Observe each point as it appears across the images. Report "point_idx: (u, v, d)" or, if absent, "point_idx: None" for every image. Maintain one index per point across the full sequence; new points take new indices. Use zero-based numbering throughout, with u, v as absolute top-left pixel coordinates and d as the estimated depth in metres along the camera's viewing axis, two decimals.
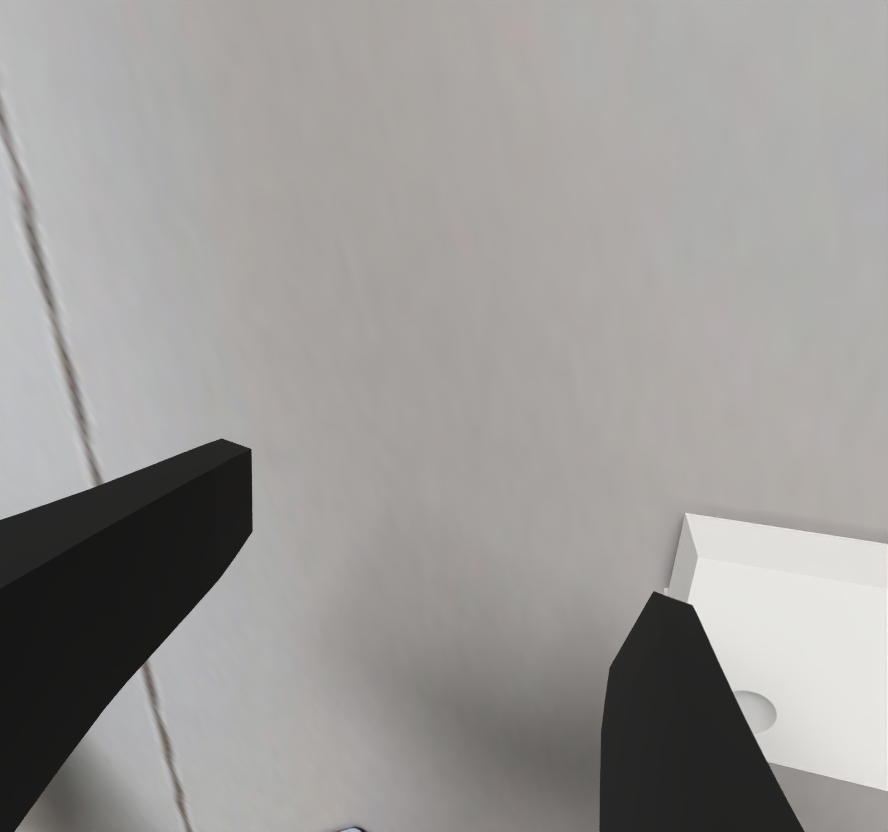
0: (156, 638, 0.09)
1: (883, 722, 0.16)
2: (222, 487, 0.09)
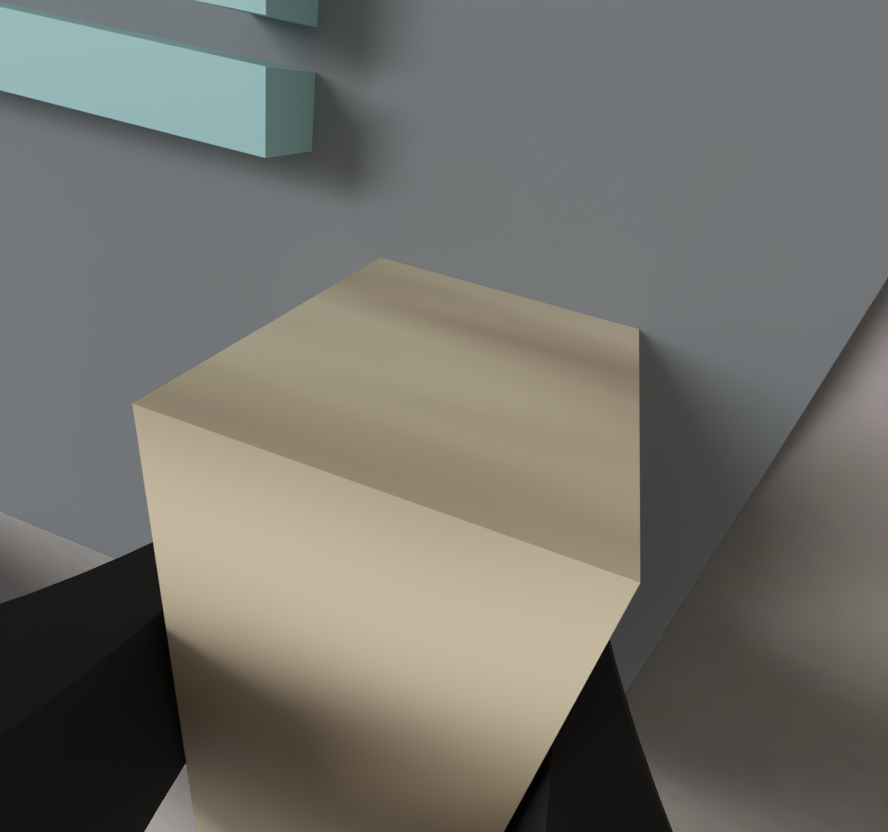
0: None
1: None
2: None
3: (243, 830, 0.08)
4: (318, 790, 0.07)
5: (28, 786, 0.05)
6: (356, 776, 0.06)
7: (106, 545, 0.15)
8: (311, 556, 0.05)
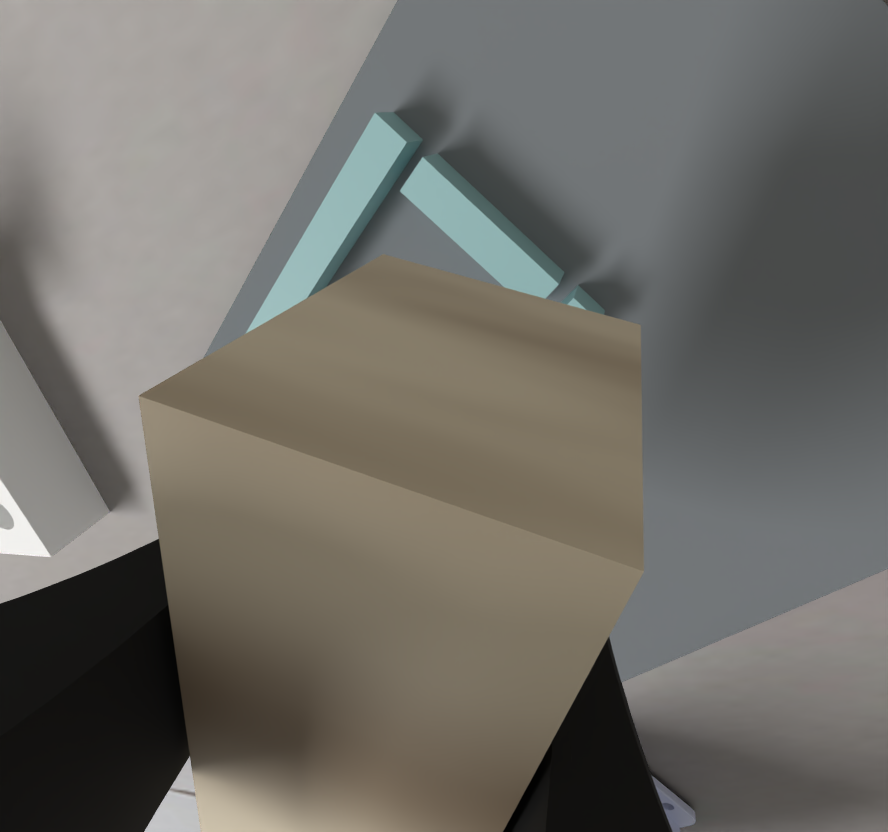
0: None
1: None
2: None
3: (246, 825, 0.08)
4: (322, 784, 0.07)
5: (28, 786, 0.05)
6: (360, 768, 0.06)
7: (710, 633, 0.19)
8: (317, 547, 0.05)
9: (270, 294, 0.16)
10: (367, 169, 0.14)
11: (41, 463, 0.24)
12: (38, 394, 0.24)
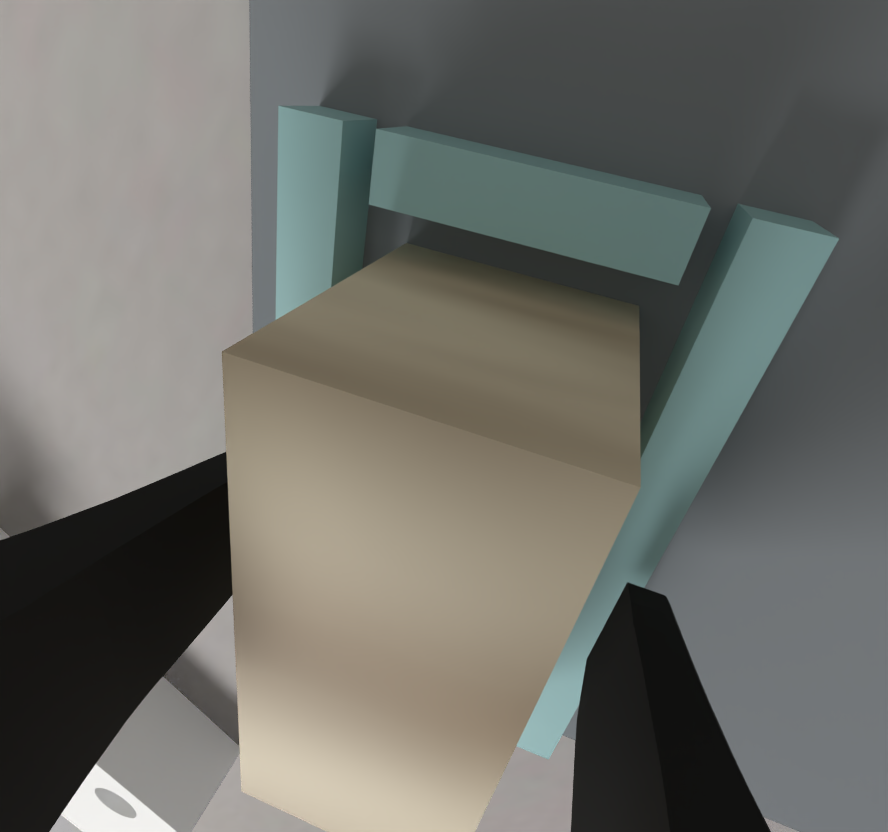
0: (178, 647, 0.09)
1: None
2: None
3: (284, 755, 0.09)
4: (358, 707, 0.07)
5: None
6: (394, 688, 0.07)
7: None
8: (368, 480, 0.05)
9: None
10: (309, 199, 0.08)
11: (142, 724, 0.20)
12: None
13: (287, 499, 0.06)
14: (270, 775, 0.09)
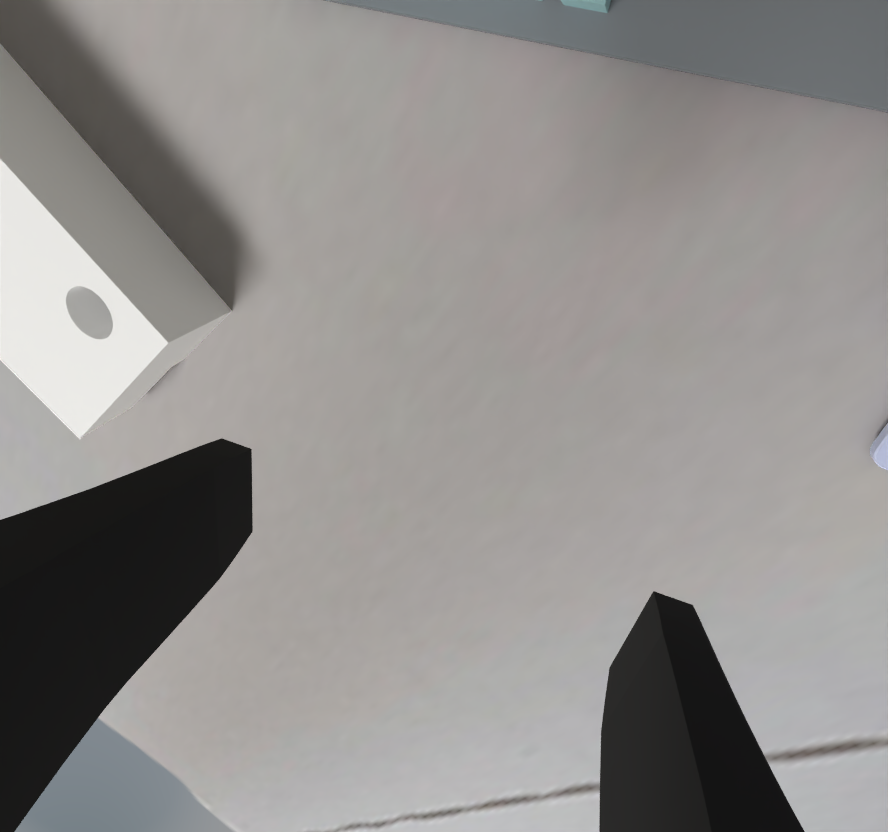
0: (156, 638, 0.09)
1: None
2: (222, 487, 0.09)
3: None
4: None
5: None
6: None
7: None
8: None
9: None
10: None
11: (120, 230, 0.18)
12: (93, 155, 0.18)
13: None
14: None
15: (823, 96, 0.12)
